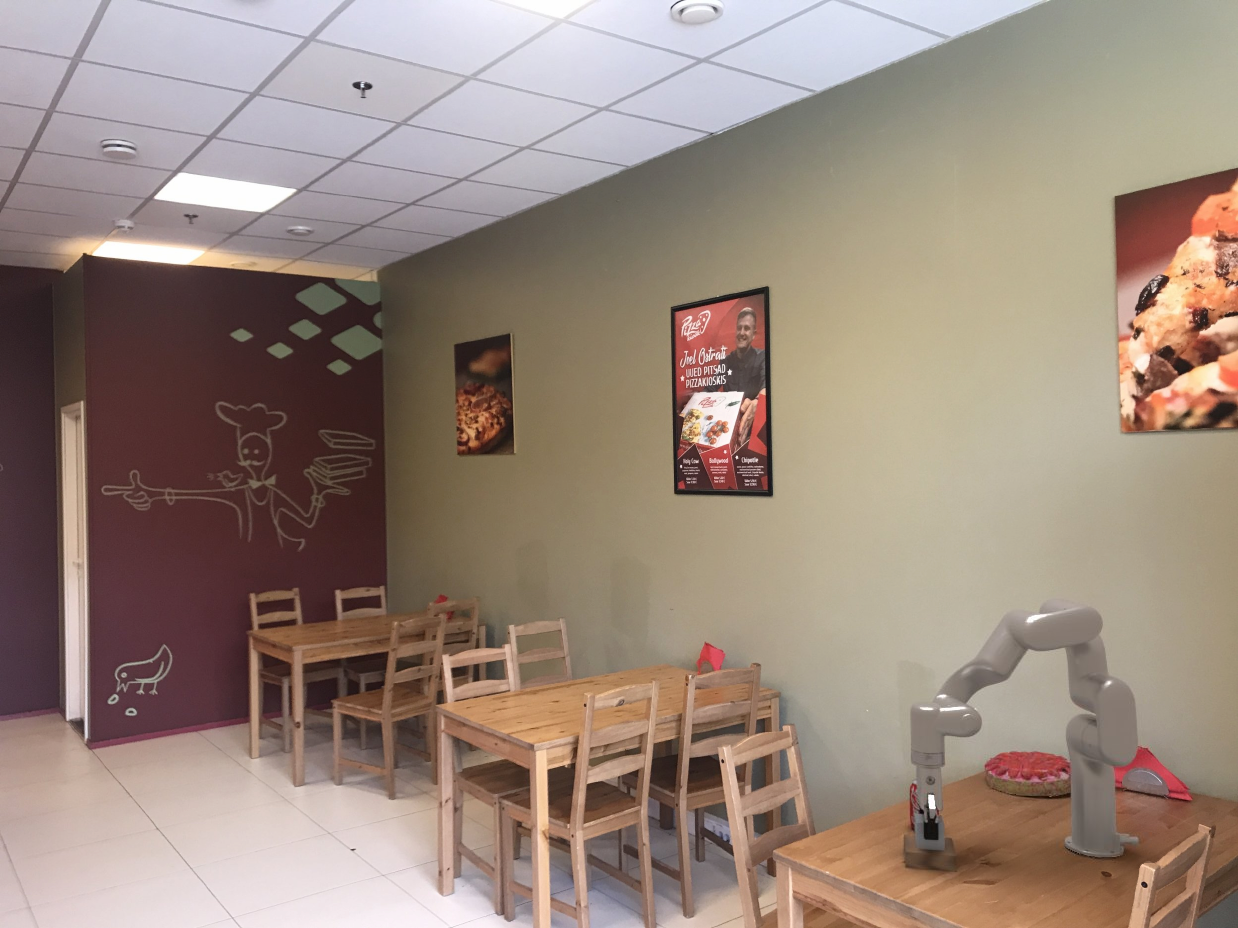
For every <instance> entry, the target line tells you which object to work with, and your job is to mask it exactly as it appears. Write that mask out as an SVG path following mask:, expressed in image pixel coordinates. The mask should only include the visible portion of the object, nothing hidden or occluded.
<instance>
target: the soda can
mask: <svg viewBox="0 0 1238 928" xmlns="http://www.w3.org/2000/svg"><path fill="white" fill-rule="evenodd" d="M919 808H921V807H920V804H919V800H918V794H917V778H914V779H912V781H911V785H910V786H909V820H910V827H911V828H912V829H914V830H915V814H920V813H919ZM937 815H940V810H938V809H937Z"/></svg>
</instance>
